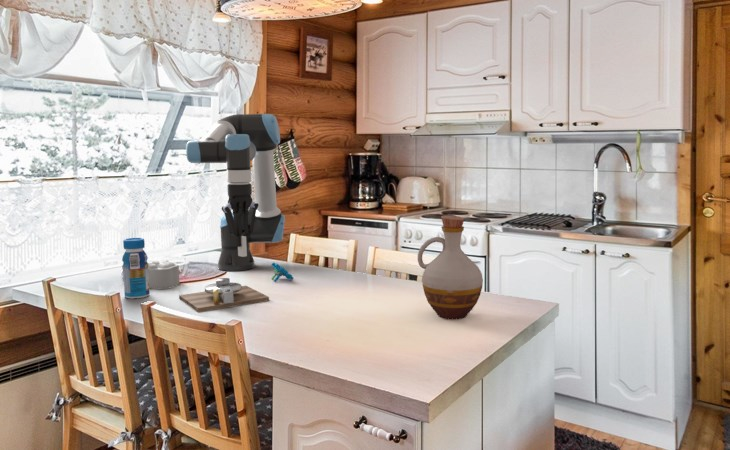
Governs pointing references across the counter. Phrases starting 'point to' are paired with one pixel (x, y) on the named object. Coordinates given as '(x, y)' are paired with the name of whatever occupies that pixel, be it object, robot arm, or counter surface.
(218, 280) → the grey bracket
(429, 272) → the jug
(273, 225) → the robot arm
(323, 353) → the counter surface
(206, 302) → the base board
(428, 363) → the counter surface
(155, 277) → the lumpy-topped squat cylinder
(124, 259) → the beverage bottle
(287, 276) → the blue t-shaped piece
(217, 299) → the dowel pin
